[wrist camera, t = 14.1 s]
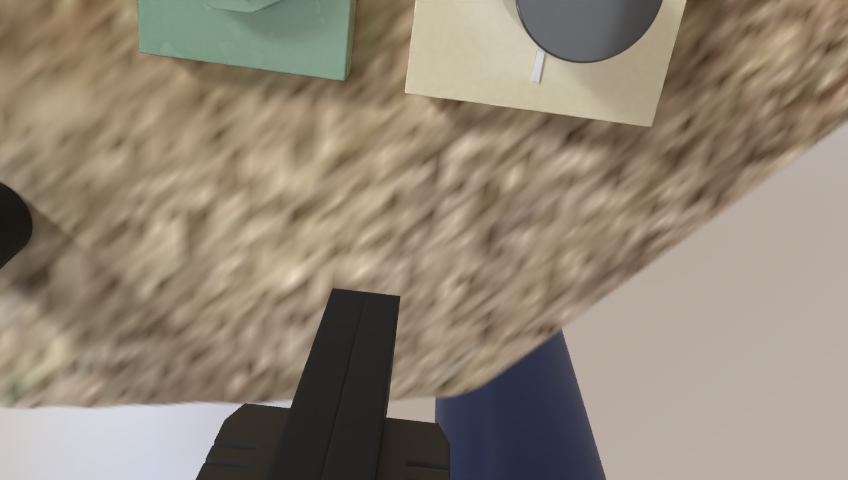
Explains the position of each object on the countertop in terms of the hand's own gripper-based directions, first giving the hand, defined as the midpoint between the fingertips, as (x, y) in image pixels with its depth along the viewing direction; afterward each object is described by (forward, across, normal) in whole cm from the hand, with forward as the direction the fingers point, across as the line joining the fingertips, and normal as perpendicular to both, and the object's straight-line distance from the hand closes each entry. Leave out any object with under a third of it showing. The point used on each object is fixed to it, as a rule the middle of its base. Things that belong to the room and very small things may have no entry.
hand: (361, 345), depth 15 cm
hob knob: (+19, +6, +8) cm, 21 cm away
